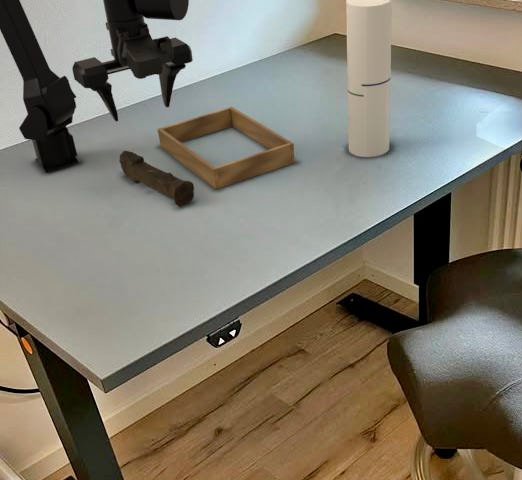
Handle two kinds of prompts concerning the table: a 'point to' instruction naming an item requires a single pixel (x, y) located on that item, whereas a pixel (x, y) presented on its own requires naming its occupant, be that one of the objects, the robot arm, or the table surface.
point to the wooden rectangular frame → (233, 171)
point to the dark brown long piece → (156, 178)
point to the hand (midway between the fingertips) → (141, 113)
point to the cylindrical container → (368, 76)
